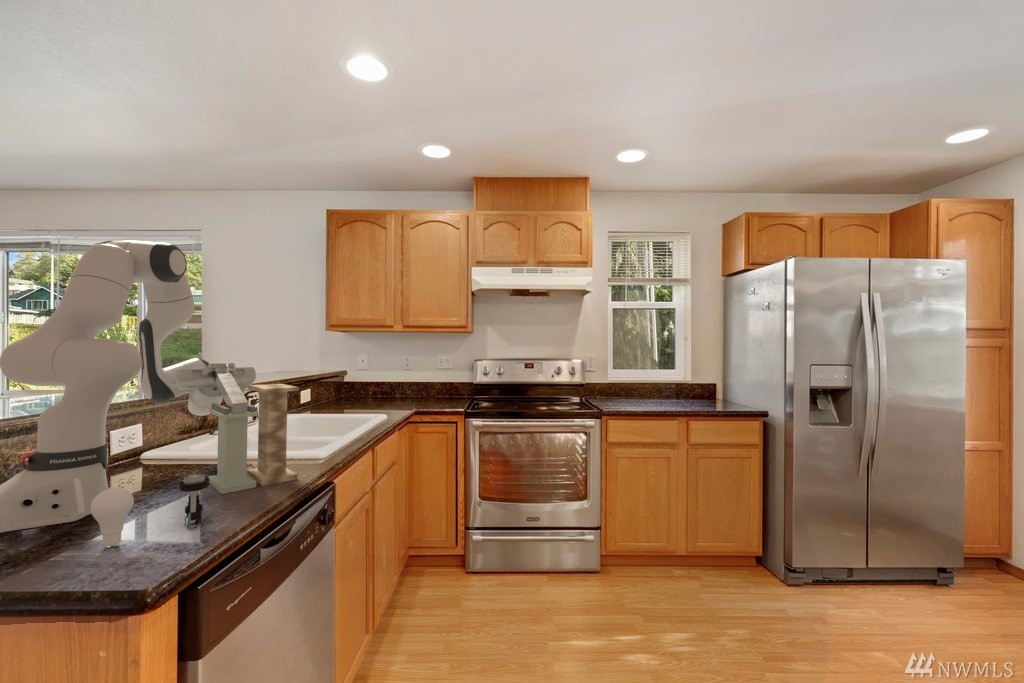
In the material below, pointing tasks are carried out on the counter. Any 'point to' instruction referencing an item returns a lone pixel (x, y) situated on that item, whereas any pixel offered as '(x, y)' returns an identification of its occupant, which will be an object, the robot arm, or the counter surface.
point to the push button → (193, 497)
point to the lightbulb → (112, 512)
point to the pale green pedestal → (232, 450)
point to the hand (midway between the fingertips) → (222, 365)
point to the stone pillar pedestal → (272, 435)
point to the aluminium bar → (229, 389)
